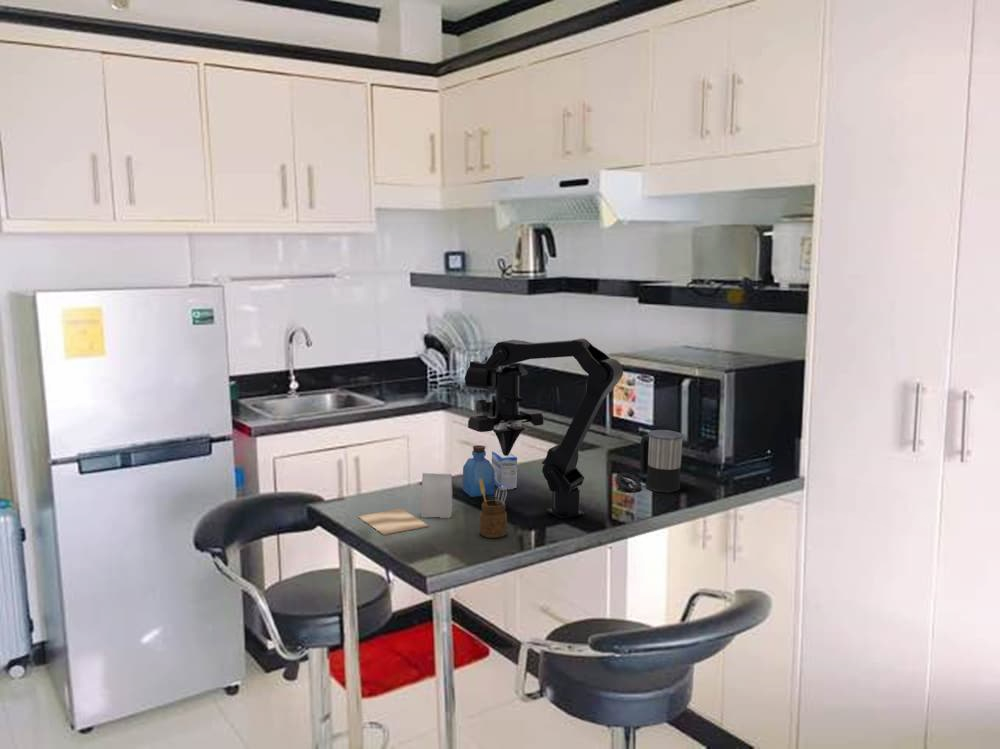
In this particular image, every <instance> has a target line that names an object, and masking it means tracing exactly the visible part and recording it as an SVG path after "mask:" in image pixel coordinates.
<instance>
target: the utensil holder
mask: <svg viewBox="0 0 1000 749" xmlns="http://www.w3.org/2000/svg"><path fill="white" fill-rule="evenodd" d="M479 484H480V489H481V493H482V494H483V496H482V497H483V501H482V503H481V509H482V510H481V511H480V513H479V532H480V535H481V536H482V537H485V538H490V539H498V538H502V537H504V536H506V535H507V530H508V529H507V528H508V516H507V511H506V507H507V506H506V502H505V501H506V498H507V495H505V496H504V494H507V492H508V491H507V490H501V489H500V488H501V487H502V486H500V488H499V487H497V489H498V490H499V492H502V491H503V492H505V493H502V495H501V497H504V498H501V499H499V498H497V499H487V498H486V495H485V488H484V484H483V480H482V478H481V479H480V480H479ZM503 489H504V488H503ZM498 490H496V493H495V495H498V496H497V497H500V493H498ZM497 493H498V494H497ZM503 499H504V500H503Z"/></svg>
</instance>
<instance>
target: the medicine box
mask: <svg viewBox="0 0 1000 749" xmlns="http://www.w3.org/2000/svg"><path fill="white" fill-rule="evenodd" d="M491 465H492V467H493V469H494V471H495V480H494V486H495V487H497V488H498V487H499V488H498V489H499V490H501V491H503V490H504V491H506V490H507V489H508V490H514V488H516V489H517V483H518V482H517V480H518V479H517V478H518V477H517V474H518V473H517V472H518V457H517V456H515V455H514V454H512V452H510V453H509V455H508V456H504V455H503V452H502V449H500V450H493V451H492V450H491ZM500 486H502V487H501V488H500ZM503 488H504V489H503Z"/></svg>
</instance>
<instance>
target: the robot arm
mask: <svg viewBox="0 0 1000 749" xmlns="http://www.w3.org/2000/svg"><path fill="white" fill-rule="evenodd" d="M566 357H567V358H568V357H571V358H572V357H573V358H574V359H575V360H576V361H577V362H578V364H579V365H580V367H581V368H582V370H583V371H584V372H585V373H586V374H588V375H587V379H586V384H585V394H584V396H583V397H582V400H581V402H580V404H579V406H578V408H577V411H576V412H575V415H574V416H573V418H572V421H571V423H570V425H569V426H568V429H567V431H566V433H565V434H564V437H563V439H562V441H561V443H560V444H559V443H558V444H556V445H554V446H553V447H550V448H548V451H547V453H546V456H545V458H544V460H543V461H541V464H542V465H543V466H542V469H541V470H542V471H541V472H542V474H543V477H544V479H545V480H546V481H547V485H548V488H549V491H550V492H551V493H552V496H551V498H552V499H551V508H548V509H546V512H548V514H549V513H550V514H552V515H553V516H555V517H558V518H560V519H568V518H572V517H573V518H574V517H578V516H583V515H585V513H584V511H582V510H580V489H579V487H580V486H582V485H583V483H584V480H585V476H584V475H583V474H582V473H581V471H579V469H578V468H577V464H578V461H579V451H580V448H581V446H582V444H583V441H584V440H585V438H586V436H587V434H588V432H589V429H590V428H591V425H592V424H593V422H594V420H595V418H596V416H597V414H598V412H599V410H600V408H601V406H602V403H603V402H604V400H605V398H606V397H607V396H608V395H609V394H610V393H611V392H612V391H613V390H614V388H615V387H616V386H617V385H618V383H619V381H621V379H622V378H623V375H624V369H623V367H622V366H623V365H622V364H621V363H620V362H619V361H618V360H617V359H614V358H611V357H610V356H608V354H607V353H605V352H603V351H601V350H600V349H598V348H597V347H596V346H594V345H593V344H592V343H590V341H588V339H586V338H576V339H568V340H557V341H555V340H554V341H545V342H544V341H541V342H531V341H526V340H520V339H519V340H518V339H509V340H503V341H499V342H496V343H495V345H494V346H493V348H492V353H491V354H490V356H489V358H488V359H487V360H486V361H485V362H480V361H477V360H473V361H470V362H469V367H468V368H467V370H466V373H465V376H464V383H465V385H466V388H468V389H473V390H474V389H475V390H483V391H492V390H493V388H495V389H494V390H495V391H494V392H495V394H493V395H491V401H487V400H486V399H478V400H476V402H475V403H476V405H475V410H476V413H477V414H482V415H474V416H470V417H469V419H468V421H467V428H468V429H470V430H473V431H476V432H478V433H485V432H492V431H493V432H494V434H495V435H496V438H497V441H498V442H499V447H500V450H502V452H503V455H504V456H508V455H509V453H511V451H512V449H513V447H514V445H515V443H516V442H517V440H518V438H519V437H520V435H521V433H522V432H523V431H525V427H523V426H522V424H523V423H530V424H532V425H533V426H534V427H535V426H543V425H545V417H544V415H543V414H542V412H539V411H536V410H533V409H530V410H520V411H519V409H520V408H519V405H520V404H519V403H521V402H522V401H523V397H521V396H520V377H521V376H527V375H528V374H529V371H528V370H526V369H525V368H524V367H523V365H522V364H518V363H521V362H524V361H528V360H537V359H538V360H539V359H551V358H552V359H553V358H566ZM516 363H517V365H516V366H515V367H514V366H508V365H513V364H516ZM501 367H503V368H502V369H498V368H501Z"/></svg>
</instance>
